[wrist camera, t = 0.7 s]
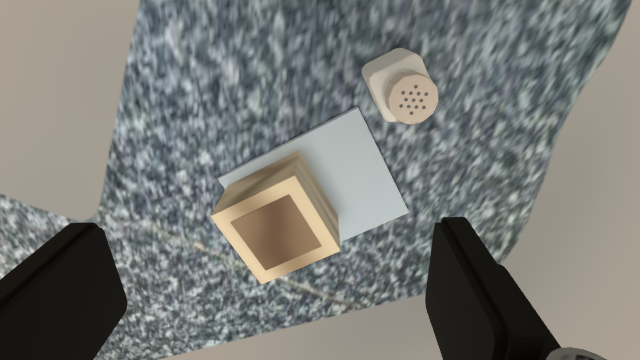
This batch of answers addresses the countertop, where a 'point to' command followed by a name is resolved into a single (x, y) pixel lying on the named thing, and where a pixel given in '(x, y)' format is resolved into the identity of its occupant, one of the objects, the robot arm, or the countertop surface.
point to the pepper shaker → (401, 86)
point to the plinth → (278, 218)
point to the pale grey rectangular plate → (341, 172)
